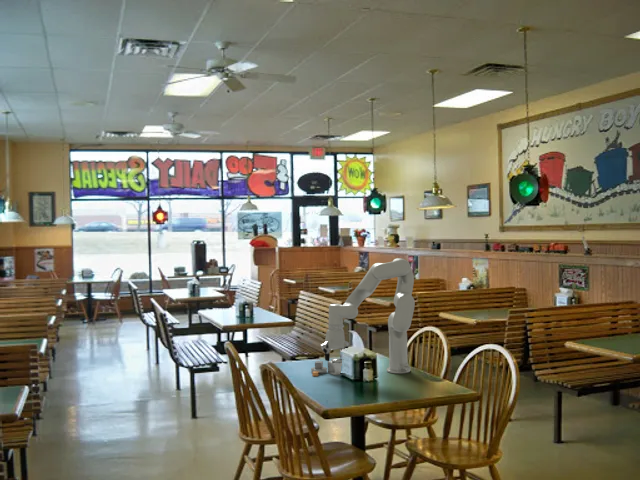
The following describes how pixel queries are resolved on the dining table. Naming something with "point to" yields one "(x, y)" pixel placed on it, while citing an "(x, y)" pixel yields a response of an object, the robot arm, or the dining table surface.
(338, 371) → the socket
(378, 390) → the dining table surface
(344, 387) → the dining table surface
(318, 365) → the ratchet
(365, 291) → the robot arm
